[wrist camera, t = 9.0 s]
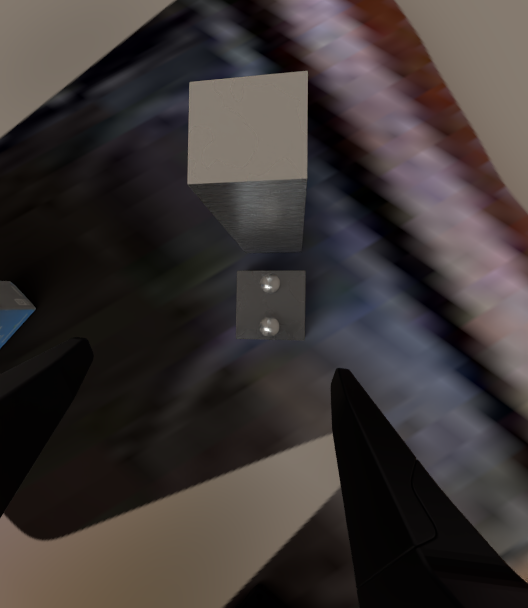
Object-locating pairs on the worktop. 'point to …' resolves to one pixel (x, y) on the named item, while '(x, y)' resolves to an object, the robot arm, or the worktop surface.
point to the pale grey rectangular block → (252, 157)
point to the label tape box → (12, 310)
